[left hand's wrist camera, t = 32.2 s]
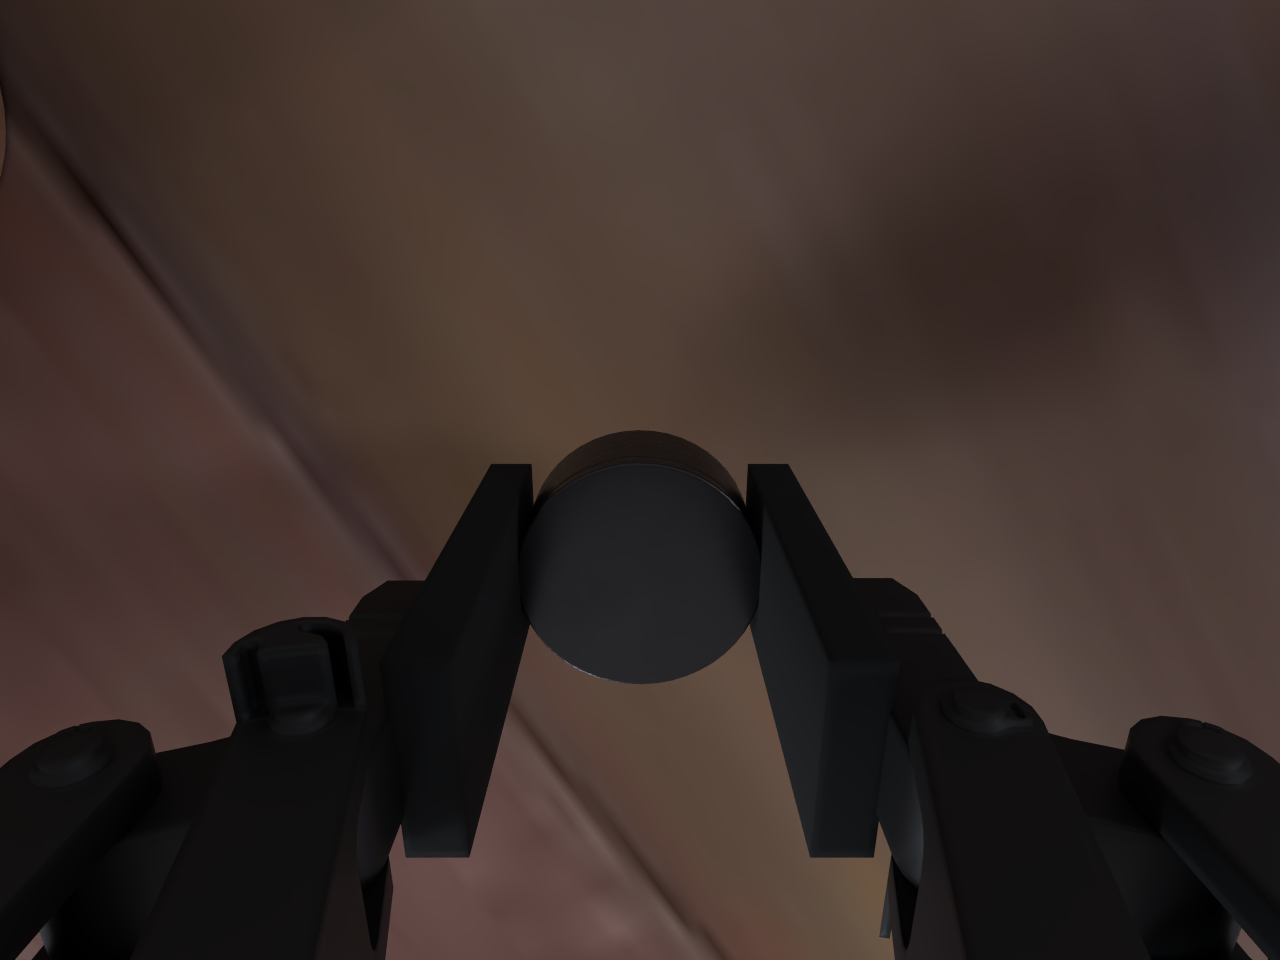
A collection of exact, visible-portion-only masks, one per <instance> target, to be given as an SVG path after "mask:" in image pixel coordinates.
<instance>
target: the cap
mask: <svg viewBox="0 0 1280 960" xmlns="http://www.w3.org/2000/svg"><path fill="white" fill-rule="evenodd" d="M518 568H519V585H520V599H521V604H522V607H523V610H524V612H525V614H526V617H527V619H528V621H529V623H530V624H531V626H532V627H533V629H534V631H535V632H536V634H537V635H538V636H539V638H540V639H541V640H542V641H543V642H544V643H545V645H546V646H547V647H548V648H549V649H551V650H552V651H553V652H554V653H555V654H556V655H557V656H558V657H560V658H561V659H563V660H564V661H565V662H567V663H568V664H570V665H572V666H573V667H575V668H577V669H579V670H581V671H583V672H585V673H588V674H590V675H593V676H595V677H598V678H602V679H605V680H609V681H614V682H620V683H628V684H650V683H660V682H665V681H670V680H674V679H678V678H681V677H684V676H687V675H689V674H692V673H694V672H696V671H699V670H701V669H703V668H704V667H706V666H708V665H709V664H711V663H713V662H714V661H716V660H717V659H718V658H720V657H721V656H722V655H723V654H725V653H726V652H727V651H728V650H729V649H730V648H731V647H732V646H733V645H734V644H735V643H736V642H737V641H738V639H739V638H740V637H741V636H742V634H743V633H744V632H745V630H746V628H747V627H748V625H749V623H750V622H751V620H752V618H753V616H754V613H755V611H756V609H757V606H758V603H759V591H760V575H761V550H760V546H759V543H758V540H757V537H756V534H755V531H754V529H753V526H752V523H751V520H750V517H749V515H748V512H747V509H746V506H745V503H744V500H743V498H742V495H741V493H740V491H739V489H738V487H737V485H736V483H735V481H734V480H733V478H732V477H731V475H730V474H729V473H728V471H727V470H726V469H725V468H724V467H723V466H722V465H721V463H720V462H719V461H718V460H717V459H715V458H714V457H713V456H712V455H710V454H709V453H708V452H707V451H705V450H704V449H702V448H700V447H699V446H697V445H696V444H694V443H691V442H689V441H687V440H685V439H683V438H680V437H677V436H674V435H670V434H667V433H661V432H655V431H642V430H635V431H623V432H618V433H613V434H609V435H606V436H603V437H600V438H597V439H594V440H592V441H590V442H588V443H586V444H584V445H582V446H580V447H579V448H577V449H576V450H574V451H573V452H571V453H570V454H569V455H568V456H566V457H565V458H564V459H563V460H562V461H561V462H560V463H559V464H558V465H557V466H556V467H555V468H554V469H553V471H552V472H551V473H550V474H549V476H548V477H547V479H546V480H545V482H544V484H543V485H542V487H541V489H540V492H539V494H538V496H537V498H536V501H535V504H534V507H533V510H532V513H531V516H530V519H529V521H528V524H527V527H526V530H525V533H524V536H523V539H522V542H521V546H520V549H519V553H518Z"/></svg>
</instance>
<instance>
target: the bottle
mask: <svg viewBox="0 0 1280 960" xmlns="http://www.w3.org/2000/svg"><path fill="white" fill-rule="evenodd" d="M6 132H7V131H6V118H5V107H4V102H3V97H2V91H1V86H0V177H1V174H2V169H3V164H4V159H5V151H6Z"/></svg>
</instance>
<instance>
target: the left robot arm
mask: <svg viewBox="0 0 1280 960" xmlns="http://www.w3.org/2000/svg"><path fill="white" fill-rule="evenodd" d="M533 507H534V503H533V483H532V464H491V466H490V467H489V469H488V471H487V473H486V474H485V476H484V478H483V480H482V481H481V483H480V485H479V487H478V488H477V490H476V492H475V494H474V495H473V497H472V499H471V501H470V503H469V504H468V506H467V508H466V510H465V511H464V513H463V515H462V517H461V518H460V520H459V522H458V524H457V525H456V527H455V529H454V531H453V532H452V534H451V536H450V538H449V539H448V541H447V543H446V545H445V547H444V548H443V550H442V552H441V554H440V555H439V557H438V559H437V561H436V562H435V564H434V566H433V568H432V569H431V571H430V573H429V575H428V576H427V578H426V580H425V581H387V582H385V583H384V584H382V585H380V586H379V587H377V588H376V589H374V590H373V591H371V592H370V593H368V594H367V595H365V596H364V597H362V599H361V600H360V602H359V603H358V605H357V606H356V607H355V609H354V610H353V612H352V613H351V615H350V616H349V620H346V622H344V621H340V620H336V619H332V618H328V617H302V618H296V619H291V620H286V621H280V622H276V623H274V624H271V625H268V626H265V627H263V628H260V629H257V630H254V631H253V632H251V633H249V634H248V635H246V636H244V637H243V638H241V639H239V640H238V641H236V642H234V643H233V645H232V646H231V647H230V648H229V649H228V650H227V651H226V652H225V653H224V654H223V656H222V659H223V663H224V668H225V673H226V677H227V682H228V686H229V691H230V695H231V700H232V704H233V709H234V713H235V718H236V722H237V723H236V725H235V727H234V730H233V732H232V734H231V736H230V737H227V738H223V739H220V740H216V741H212V742H208V743H203V744H198V745H193V746H188V747H184V748H179V749H174V750H169V751H164V752H159V753H155V749H154V745H153V742H152V738H151V734H150V732H149V731H148V730H147V729H146V728H144V727H143V726H142V725H141V724H140V723H137V722H131V721H125V720H120V719H118V720H107V721H97V722H90V723H85V724H80V725H79V726H73V727H70V728H67V729H64V730H61V731H59V732H57V733H56V734H54V735H52V736H49V737H47V738H45V739H43V740H41V741H38V742H36V743H34V744H33V745H31V746H30V747H28V748H27V749H25V750H24V751H22V752H21V753H19V754H18V755H16V756H15V757H13V758H12V759H11V760H9V761H8V762H7V763H6V764H4V765H3V766H2V767H1V768H0V960H15V959H16V958H17V957H18V956H19V954H20V953H21V952H22V951H23V950H24V949H25V947H26V946H27V945H28V944H29V943H30V942H31V940H32V939H33V938H34V937H35V936H36V935H37V933H38V932H40V935H41V938H42V940H43V943H44V946H43V947H42V948H41V949H40V950H39V952H38V953H37V954H36V955H35V956H34V957H33V959H32V960H385V956H386V947H387V939H388V930H389V921H390V912H391V903H392V895H393V882H392V875H391V868H390V862H389V853H390V850H391V847H392V845H393V842H394V840H395V837H396V834H397V832H398V829H399V827H400V824H401V826H402V833H403V841H404V848H405V855H406V857H469V856H470V852H471V849H472V845H473V841H474V837H475V833H476V829H477V826H478V822H479V818H480V814H481V810H482V806H483V802H484V799H485V795H486V791H487V787H488V783H489V779H490V776H491V772H492V768H493V764H494V760H495V756H496V753H497V749H498V745H499V741H500V737H501V733H502V729H503V726H504V722H505V718H506V714H507V710H508V706H509V703H510V699H511V695H512V691H513V687H514V683H515V679H516V676H517V672H518V668H519V664H520V660H521V656H522V653H523V649H524V645H525V641H526V637H527V633H528V630H529V626H530V623H529V621H528V619H527V617H526V614H525V612H524V610H523V607H522V604H521V599H520V585H519V568H518V553H519V549H520V546H521V542H522V539H523V536H524V533H525V530H526V527H527V524H528V521H529V519H530V516H531V513H532V510H533ZM746 509H747V512H748V515H749V517H750V520H751V523H752V526H753V529H754V531H755V534H756V537H757V540H758V543H759V546H760V550H761V575H760V591H759V603H758V606H757V609H756V611H755V613H754V616H753V618H752V620H751V622H750V623H749V624H750V628H751V631H752V635H753V639H754V643H755V647H756V651H757V654H758V658H759V662H760V666H761V670H762V674H763V678H764V681H765V685H766V689H767V693H768V697H769V701H770V704H771V708H772V712H773V716H774V720H775V724H776V728H777V731H778V735H779V739H780V743H781V747H782V751H783V754H784V758H785V762H786V766H787V770H788V774H789V778H790V781H791V785H792V789H793V793H794V797H795V801H796V804H797V808H798V812H799V816H800V820H801V824H802V827H803V831H804V835H805V839H806V843H807V847H808V851H809V854H810V857H866V858H874V851H875V844H876V837H877V830H878V822H880V824H881V827H882V829H883V832H884V835H885V837H886V840H887V842H888V845H889V848H890V850H891V853H892V855H891V862H890V868H889V875H888V882H887V889H886V895H885V902H884V909H883V915H882V922H881V929H880V936H879V937H884V938H889V939H890V933H891V928H892V937H893V946H894V954H895V960H1252V959H1251V958H1250V957H1249V956H1248V955H1247V954H1246V952H1245V951H1244V950H1243V949H1242V948H1241V947H1240V945H1239V944H1238V943H1237V942H1236V941H1237V938H1238V936H1239V933H1240V930H1241V928H1242V929H1243V930H1244V931H1245V932H1246V933H1247V934H1248V936H1249V937H1250V938H1251V939H1252V940H1253V941H1254V942H1255V944H1256V945H1257V946H1258V947H1259V948H1260V949H1261V951H1262V952H1263V953H1264V954H1265V955H1266V956H1267V957H1268V960H1280V764H1279V763H1278V762H1277V761H1276V760H1275V759H1273V758H1272V757H1271V756H1270V755H1268V754H1267V753H1265V752H1264V751H1262V750H1261V749H1259V748H1258V747H1256V746H1255V745H1253V744H1252V743H1250V742H1249V741H1247V740H1246V739H1243V738H1241V737H1239V736H1237V735H1235V734H1232V733H1230V732H1228V731H1226V730H1224V729H1222V728H1221V727H1218V726H1215V725H1212V724H1209V723H1206V722H1205V723H1202V722H1201V721H1198V720H1194V719H1189V718H1178V717H1168V716H1158V717H1152V718H1146V719H1141V720H1140V721H1139V722H1138V723H1136V724H1135V725H1134V726H1133V727H1132V728H1130V732H1129V735H1128V739H1127V743H1126V747H1125V750H1123V749H1118V748H1113V747H1108V746H1103V745H1098V744H1093V743H1088V742H1083V741H1078V740H1073V739H1069V738H1065V737H1061V736H1057V735H1054V734H1050V733H1048V730H1047V728H1046V726H1045V724H1044V722H1043V720H1042V719H1041V718H1040V716H1039V715H1038V714H1037V713H1036V711H1035V710H1034V709H1033V707H1032V706H1030V705H1029V704H1027V703H1026V702H1025V701H1023V700H1022V699H1020V698H1019V697H1017V696H1016V695H1015V694H1013V693H1011V692H1008V691H1006V690H1004V689H1001V688H999V687H997V686H994V685H992V684H989V683H984V682H979V681H978V680H977V679H976V677H975V676H974V674H973V673H972V671H971V670H970V669H969V667H968V666H967V664H966V663H965V662H964V660H963V659H962V657H961V656H960V655H959V653H958V652H957V650H956V649H955V647H954V646H953V645H952V643H951V642H950V640H949V639H948V638H947V636H946V635H945V634H942V629H941V628H940V626H939V625H938V623H937V622H936V621H935V619H934V618H931V614H930V612H929V611H928V609H927V608H926V607H925V605H924V604H923V602H922V601H921V599H920V598H919V597H918V595H917V594H915V593H914V592H912V591H911V590H909V589H908V588H906V587H905V586H903V585H902V584H900V583H898V582H897V581H895V580H894V579H892V578H853V577H852V576H851V574H850V572H849V570H848V569H847V567H846V565H845V563H844V562H843V560H842V558H841V556H840V554H839V553H838V551H837V549H836V547H835V546H834V544H833V542H832V540H831V539H830V537H829V535H828V533H827V532H826V530H825V528H824V526H823V525H822V523H821V521H820V519H819V518H818V516H817V514H816V512H815V510H814V509H813V507H812V505H811V503H810V502H809V500H808V498H807V496H806V495H805V493H804V491H803V489H802V488H801V486H800V484H799V482H798V481H797V479H796V477H795V475H794V474H793V472H792V470H791V468H790V466H789V465H788V464H748V474H747V493H746Z"/></svg>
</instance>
